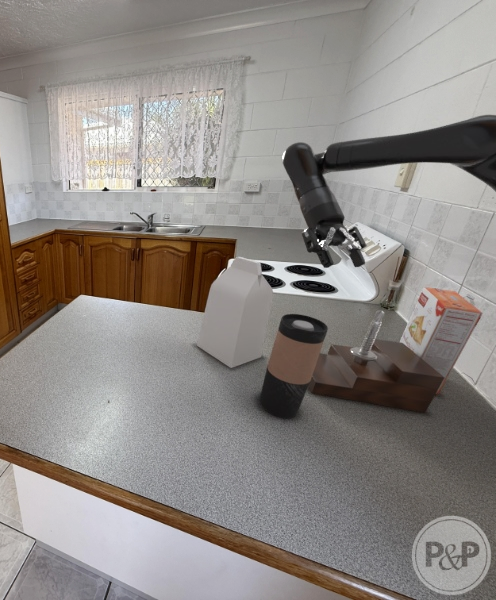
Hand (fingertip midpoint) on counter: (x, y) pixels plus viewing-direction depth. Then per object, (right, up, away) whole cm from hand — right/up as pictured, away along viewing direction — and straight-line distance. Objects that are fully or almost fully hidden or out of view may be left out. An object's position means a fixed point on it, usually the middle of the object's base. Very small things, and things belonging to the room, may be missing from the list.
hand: (344, 266), depth 74 cm
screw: (+2, -22, -2) cm, 23 cm away
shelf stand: (+2, -28, 0) cm, 28 cm away
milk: (-23, -22, +12) cm, 34 cm away
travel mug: (-20, -31, -8) cm, 38 cm away
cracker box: (+19, -27, +3) cm, 33 cm away
